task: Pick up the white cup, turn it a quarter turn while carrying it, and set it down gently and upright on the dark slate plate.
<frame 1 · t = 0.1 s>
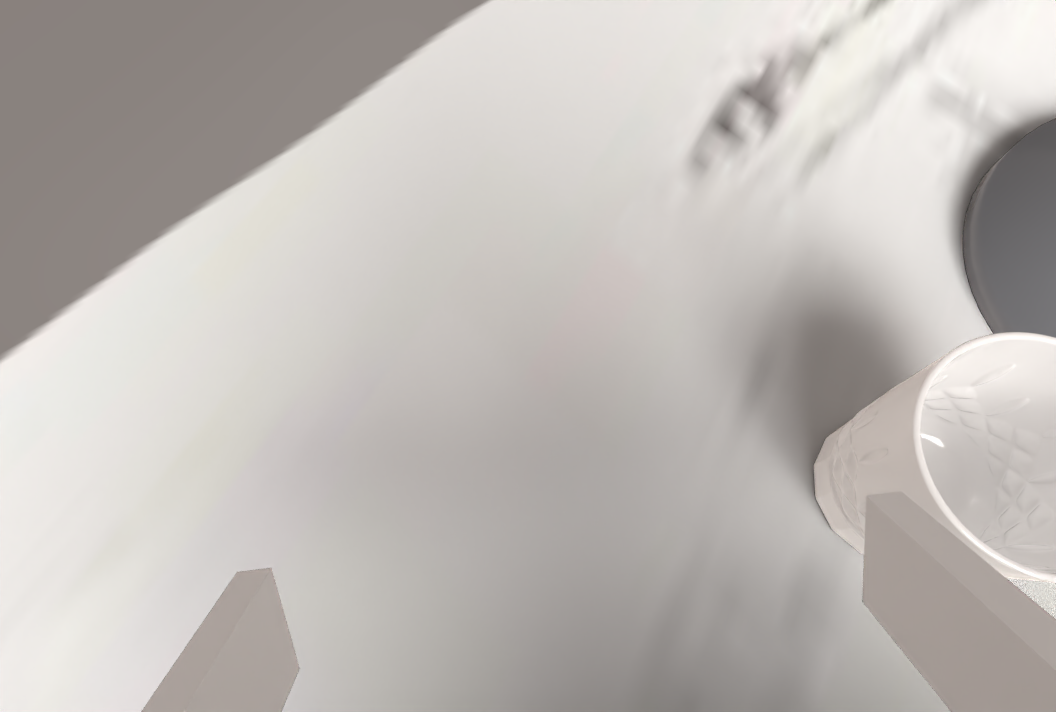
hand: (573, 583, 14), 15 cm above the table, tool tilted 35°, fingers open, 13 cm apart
white cup: (884, 488, 29), on the table
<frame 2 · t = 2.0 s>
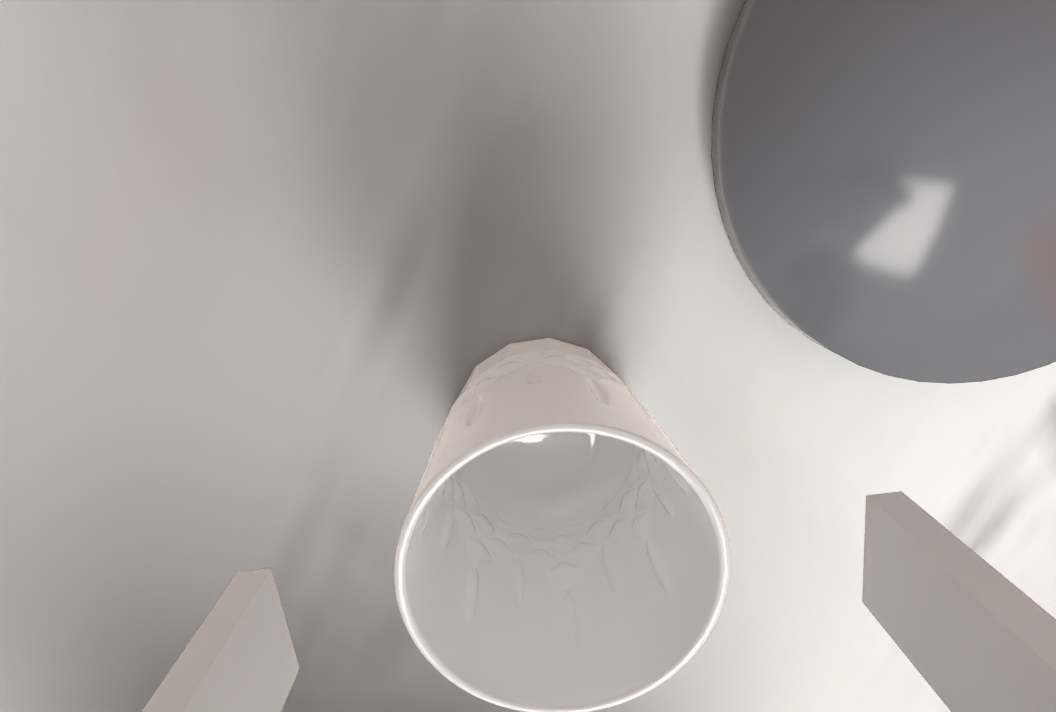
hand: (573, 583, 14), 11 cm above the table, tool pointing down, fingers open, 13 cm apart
slate plate: (969, 122, 22), on the table
white cup: (541, 419, 24), on the table
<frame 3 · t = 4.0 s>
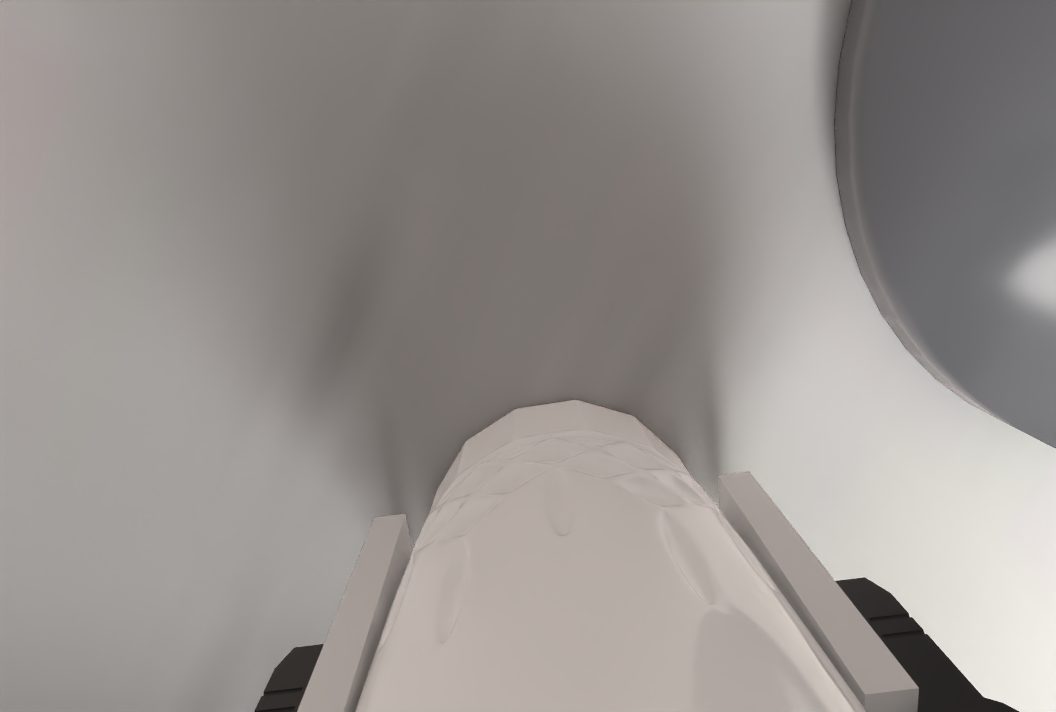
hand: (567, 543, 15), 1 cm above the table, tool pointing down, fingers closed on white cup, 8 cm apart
white cup: (562, 513, 17), on the table, touching gripper
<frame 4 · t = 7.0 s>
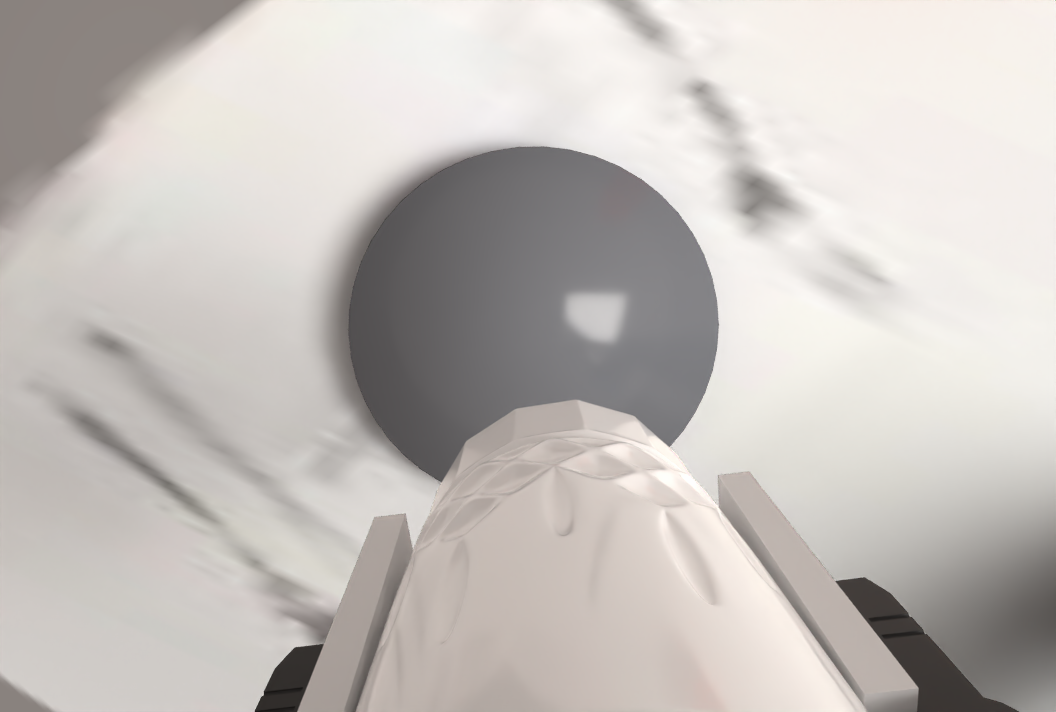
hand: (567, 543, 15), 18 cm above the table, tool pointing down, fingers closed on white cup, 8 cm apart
slate plate: (533, 333, 32), on the table
white cup: (563, 513, 17), point 16 cm above the table, touching gripper
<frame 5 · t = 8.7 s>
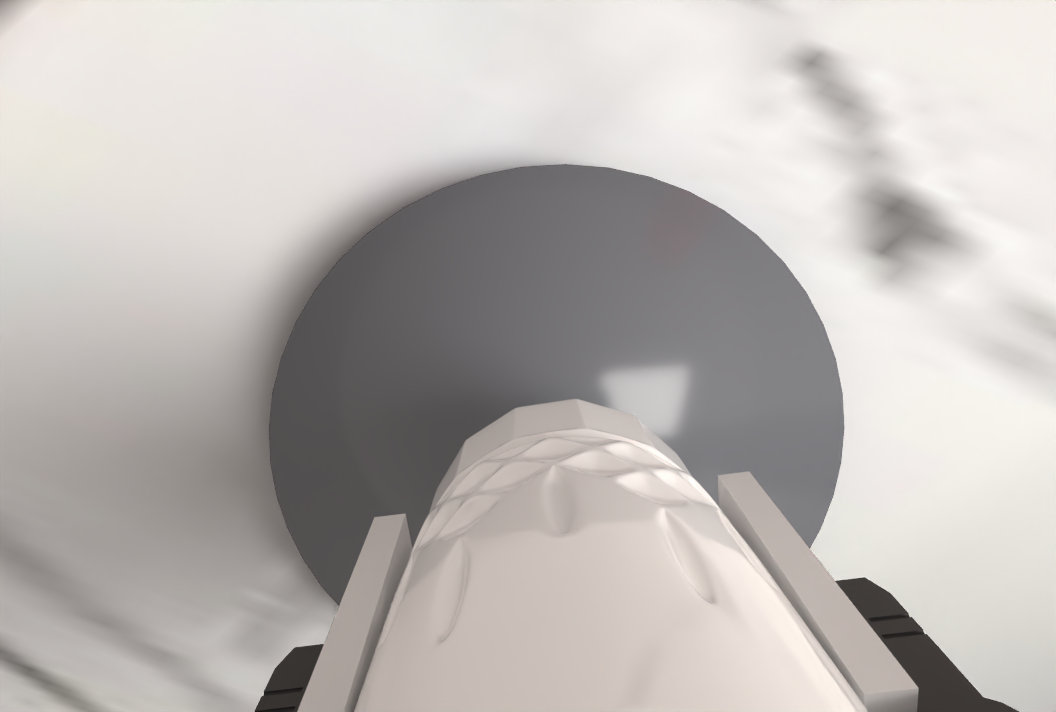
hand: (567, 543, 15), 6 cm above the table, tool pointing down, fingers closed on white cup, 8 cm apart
slate plate: (555, 443, 21), on the table
white cup: (562, 512, 17), point 5 cm above the table, touching gripper
when the fingers open (4 cm above the table, at t = 10.2 s): white cup drops 1 cm, resting on slate plate.
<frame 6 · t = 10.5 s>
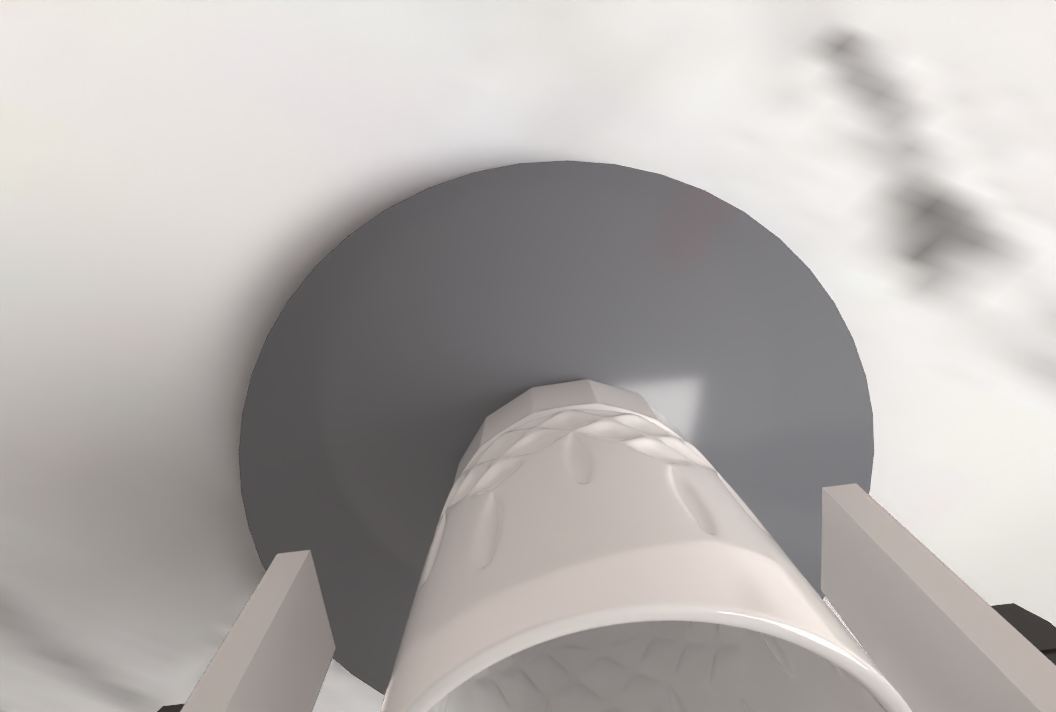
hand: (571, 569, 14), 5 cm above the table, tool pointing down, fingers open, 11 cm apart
slate plate: (555, 466, 19), on the table
white cup: (574, 485, 18), point 1 cm above the table, touching slate plate
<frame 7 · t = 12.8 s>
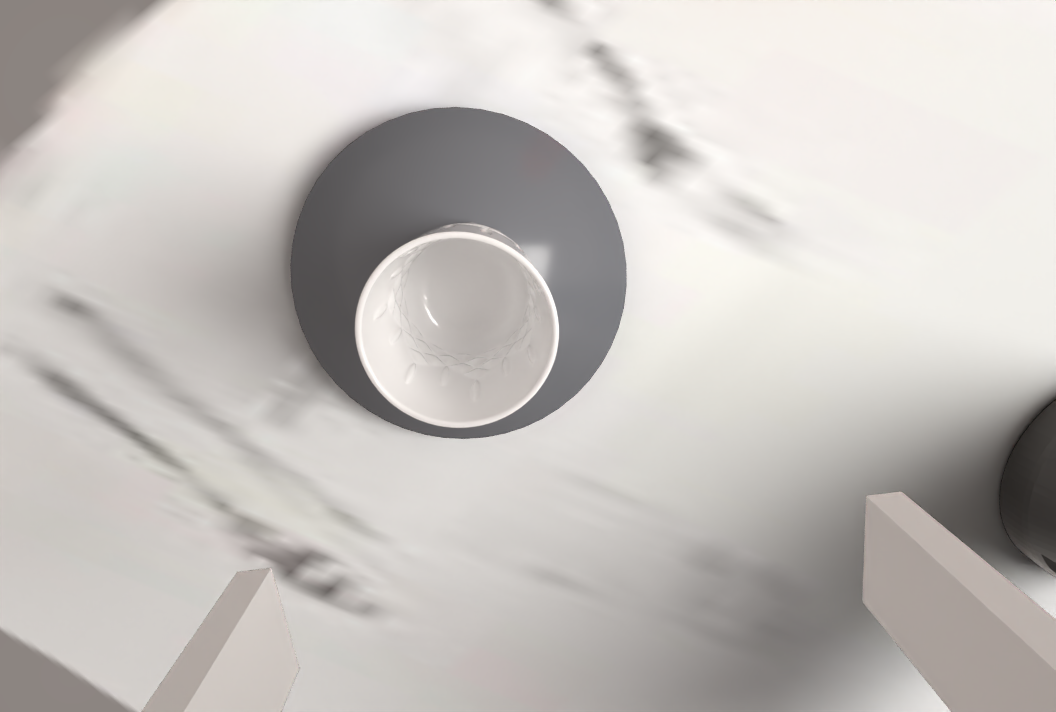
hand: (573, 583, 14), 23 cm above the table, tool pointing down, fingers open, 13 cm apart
slate plate: (462, 281, 35), on the table
white cup: (469, 284, 34), point 1 cm above the table, touching slate plate
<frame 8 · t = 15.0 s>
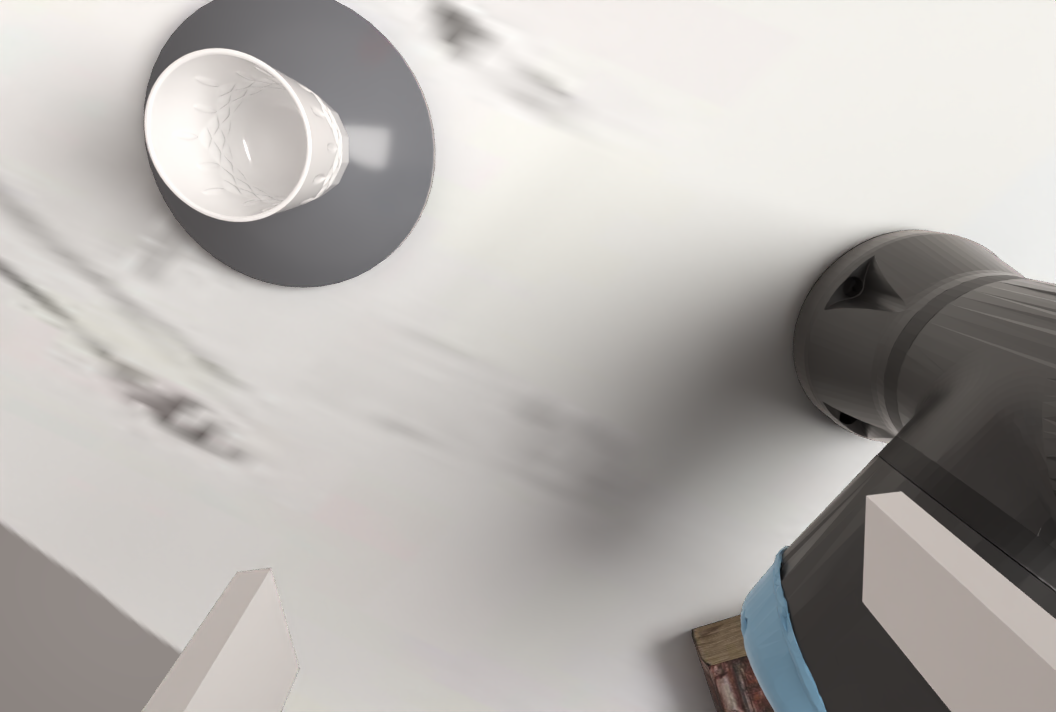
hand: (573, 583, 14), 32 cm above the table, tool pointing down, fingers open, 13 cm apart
slate plate: (297, 147, 41), on the table
white cup: (298, 146, 40), point 1 cm above the table, touching slate plate
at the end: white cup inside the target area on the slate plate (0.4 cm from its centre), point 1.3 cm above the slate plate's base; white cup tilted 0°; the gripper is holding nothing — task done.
